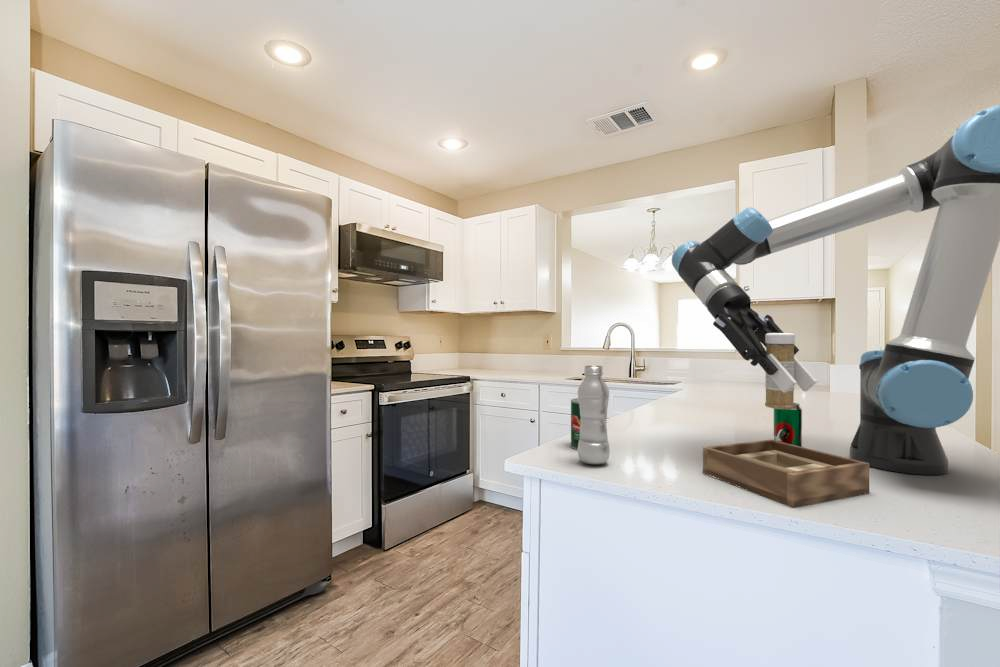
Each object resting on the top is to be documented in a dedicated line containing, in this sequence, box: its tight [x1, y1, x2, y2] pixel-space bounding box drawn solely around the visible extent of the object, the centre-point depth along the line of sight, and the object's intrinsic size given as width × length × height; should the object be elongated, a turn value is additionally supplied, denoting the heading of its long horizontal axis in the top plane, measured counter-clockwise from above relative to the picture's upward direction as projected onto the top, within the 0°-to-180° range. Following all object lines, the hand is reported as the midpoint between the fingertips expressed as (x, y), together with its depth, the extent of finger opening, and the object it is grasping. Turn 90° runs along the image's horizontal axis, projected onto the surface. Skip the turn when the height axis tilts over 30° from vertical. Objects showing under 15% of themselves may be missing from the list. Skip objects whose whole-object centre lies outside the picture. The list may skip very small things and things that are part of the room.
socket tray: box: [702, 439, 870, 508], centre depth 81 cm, size 18×18×5 cm
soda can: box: [773, 402, 803, 447], centre depth 96 cm, size 5×5×12 cm
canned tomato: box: [570, 397, 581, 450], centre depth 106 cm, size 8×8×11 cm
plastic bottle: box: [577, 365, 611, 465], centre depth 93 cm, size 6×7×20 cm
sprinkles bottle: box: [764, 332, 796, 410], centre depth 81 cm, size 5×5×14 cm
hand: (800, 386), depth 78 cm, fingers closed on sprinkles bottle, 4 cm apart
